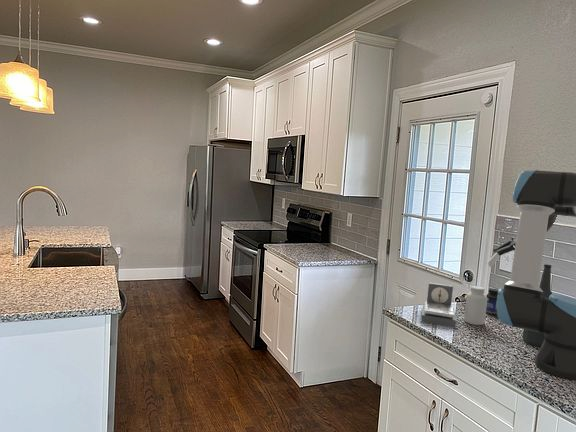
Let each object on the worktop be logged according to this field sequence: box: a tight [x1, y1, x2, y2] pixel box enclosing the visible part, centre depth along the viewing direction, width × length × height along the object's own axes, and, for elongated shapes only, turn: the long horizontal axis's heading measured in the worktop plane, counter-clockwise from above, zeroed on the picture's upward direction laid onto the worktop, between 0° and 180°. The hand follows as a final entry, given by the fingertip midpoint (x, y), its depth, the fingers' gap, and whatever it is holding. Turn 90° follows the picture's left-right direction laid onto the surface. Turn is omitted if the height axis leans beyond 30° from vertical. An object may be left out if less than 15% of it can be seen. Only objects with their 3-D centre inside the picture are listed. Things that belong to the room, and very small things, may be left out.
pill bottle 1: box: [463, 285, 487, 326], centre depth 183 cm, size 8×8×15 cm
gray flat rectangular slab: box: [424, 301, 454, 318], centre depth 184 cm, size 14×11×1 cm
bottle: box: [522, 264, 553, 348], centre depth 163 cm, size 10×10×30 cm
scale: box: [421, 281, 457, 329], centre depth 185 cm, size 18×13×13 cm
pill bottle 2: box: [485, 288, 499, 316], centre depth 198 cm, size 6×6×11 cm
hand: (500, 268), depth 185 cm, fingers open, 13 cm apart
